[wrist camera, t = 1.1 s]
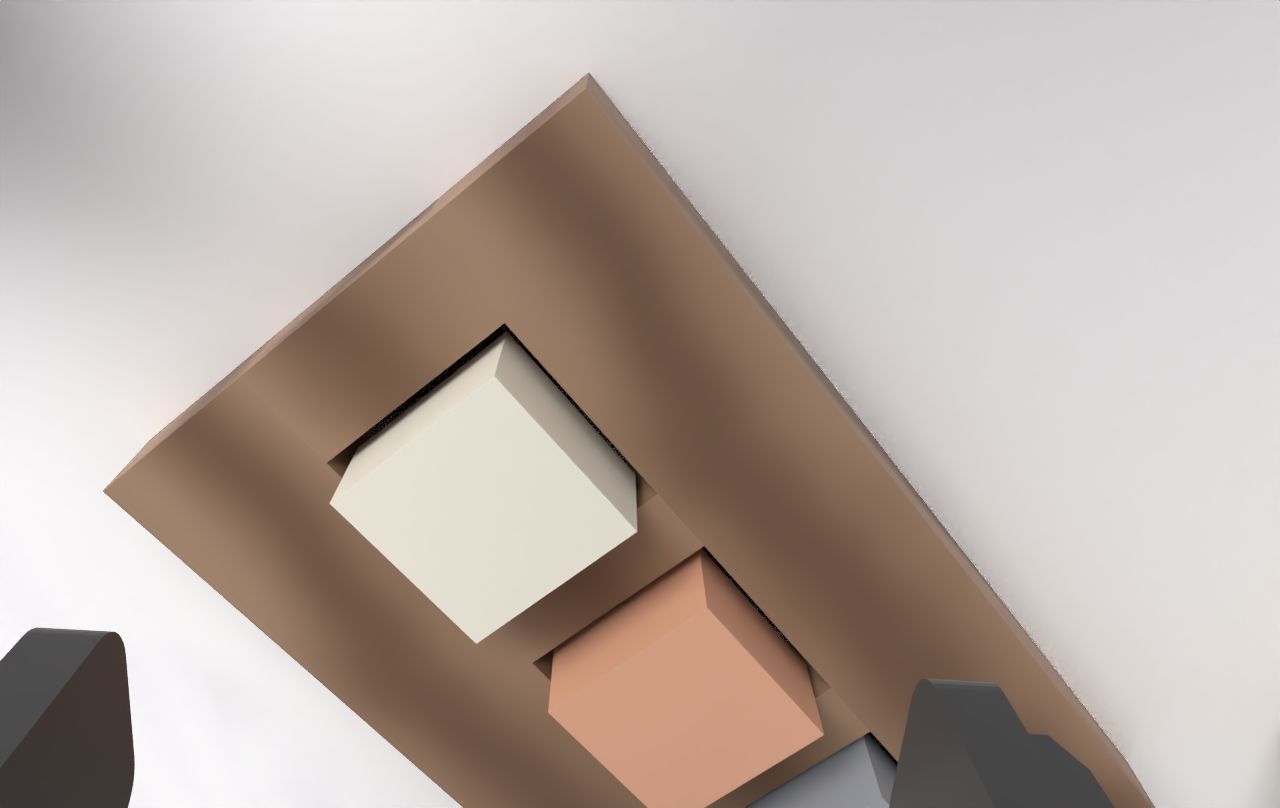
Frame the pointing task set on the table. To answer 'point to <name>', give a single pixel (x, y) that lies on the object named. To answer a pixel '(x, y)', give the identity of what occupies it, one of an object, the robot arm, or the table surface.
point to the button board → (643, 433)
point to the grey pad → (839, 781)
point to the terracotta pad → (684, 689)
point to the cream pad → (490, 490)
